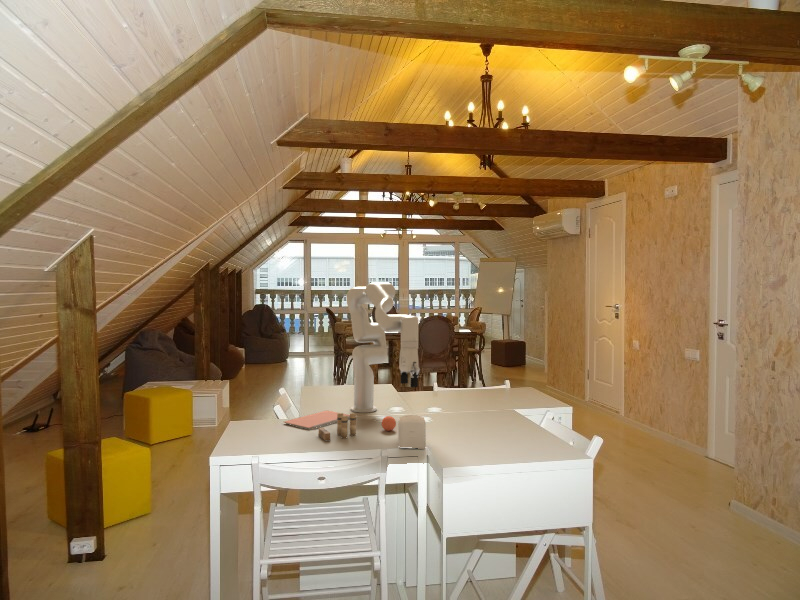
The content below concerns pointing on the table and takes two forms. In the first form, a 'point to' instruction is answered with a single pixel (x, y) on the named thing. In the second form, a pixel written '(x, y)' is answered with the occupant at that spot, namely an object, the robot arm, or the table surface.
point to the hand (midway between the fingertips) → (409, 385)
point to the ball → (388, 423)
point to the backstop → (324, 433)
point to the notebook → (315, 420)
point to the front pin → (352, 424)
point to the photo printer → (412, 432)
